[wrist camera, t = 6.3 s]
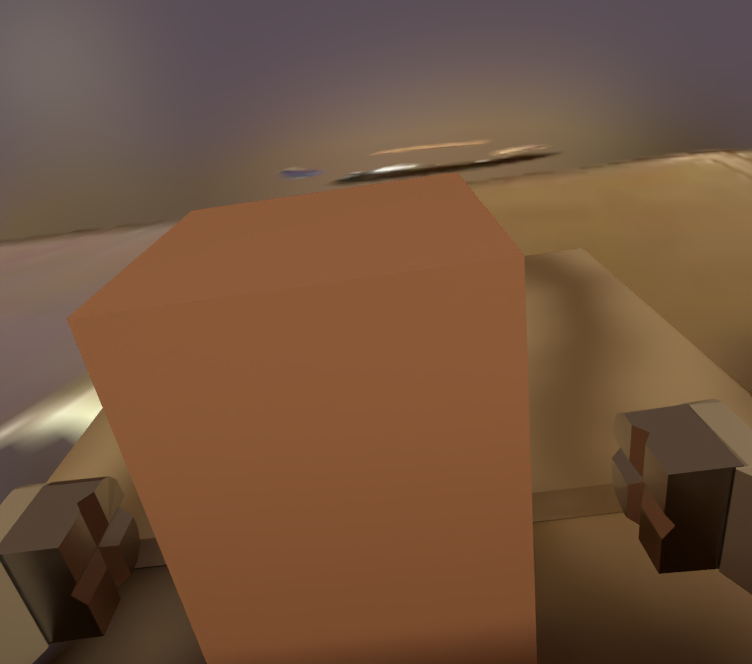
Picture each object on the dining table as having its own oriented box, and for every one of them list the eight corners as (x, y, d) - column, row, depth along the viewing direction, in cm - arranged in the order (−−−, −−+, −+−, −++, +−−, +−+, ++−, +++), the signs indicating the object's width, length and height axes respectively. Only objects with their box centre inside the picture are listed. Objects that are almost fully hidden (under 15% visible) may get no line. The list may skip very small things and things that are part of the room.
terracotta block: (294, 879, 9) (66, 318, 5) (314, 649, 13) (191, 210, 9) (542, 856, 9) (524, 254, 5) (493, 630, 13) (457, 172, 8)
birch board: (4, 583, 16) (-11, 557, 16) (187, 319, 32) (182, 303, 32) (815, 489, 15) (823, 458, 15) (582, 265, 31) (582, 248, 31)
